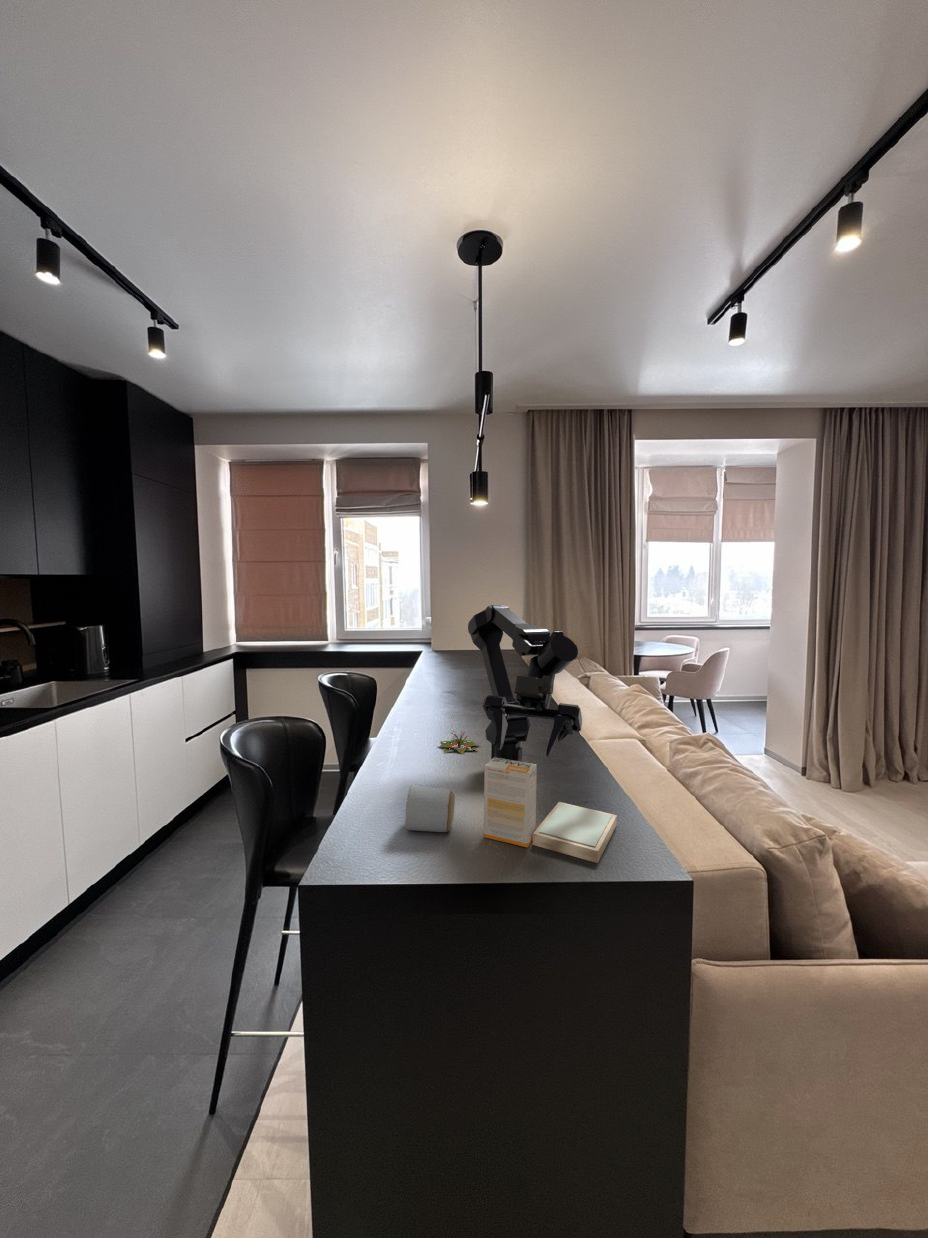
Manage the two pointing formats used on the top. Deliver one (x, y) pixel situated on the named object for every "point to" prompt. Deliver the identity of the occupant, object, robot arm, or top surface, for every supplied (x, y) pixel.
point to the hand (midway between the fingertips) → (522, 752)
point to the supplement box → (510, 801)
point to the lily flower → (459, 742)
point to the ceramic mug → (429, 809)
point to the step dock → (576, 831)
